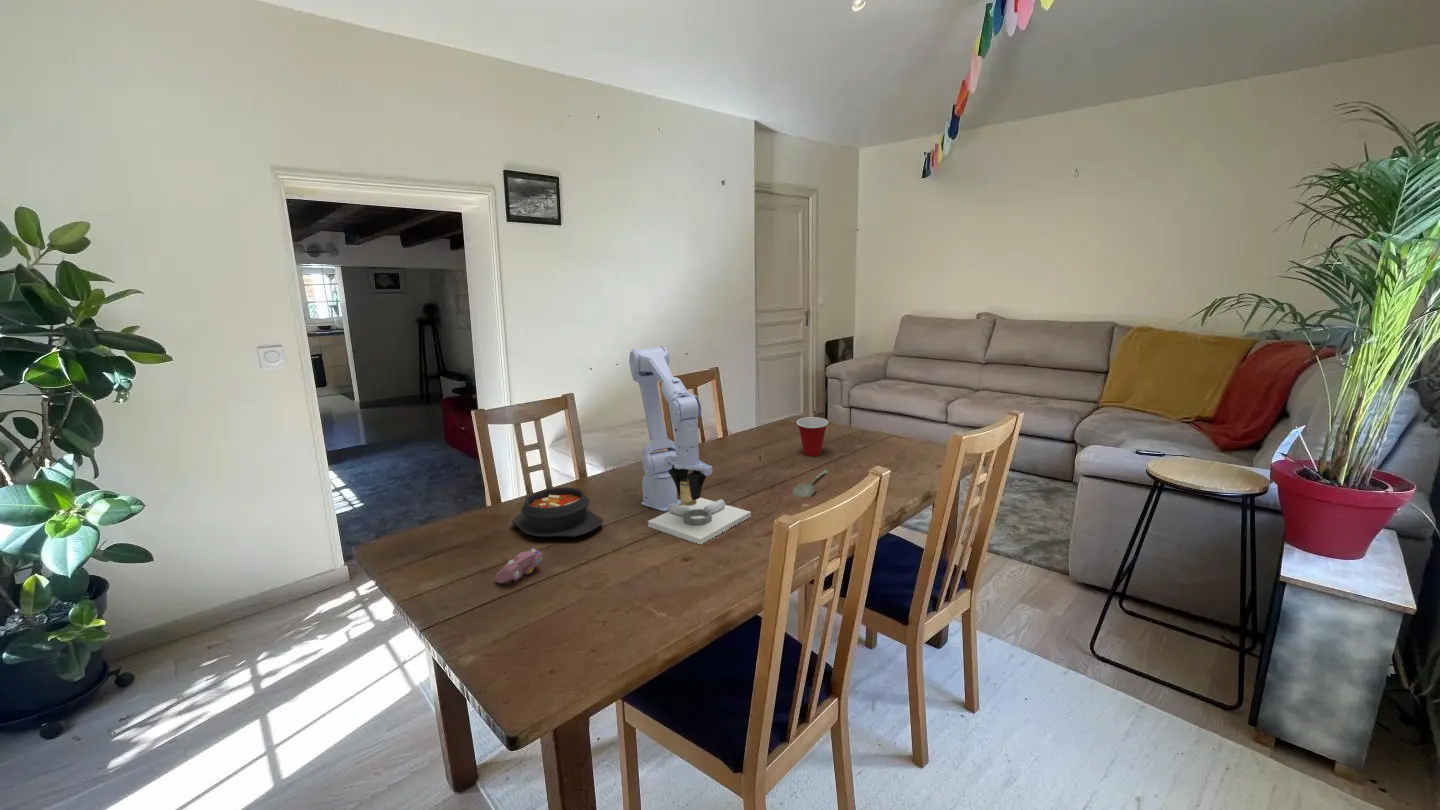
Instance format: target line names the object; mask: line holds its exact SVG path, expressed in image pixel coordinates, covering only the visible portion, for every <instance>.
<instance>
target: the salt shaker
mask: <svg viewBox="0 0 1440 810" xmlns="http://www.w3.org/2000/svg"><path fill="white" fill-rule="evenodd" d="M679 483H680V496H679V498H680V500H681V504H680V505H681V506H682V505H684V506H692V505H695V504H696V503H697V500H692V496H691V487H690V483H689V480H688V478H682V479H680V481H679Z"/></svg>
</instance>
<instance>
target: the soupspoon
mask: <svg viewBox="0 0 1440 810" xmlns="http://www.w3.org/2000/svg"><path fill="white" fill-rule="evenodd" d="M828 474H829V471H828V470H826V469H824V470H823V471H822V472H820V473H819V474H818V475H817V476H815V477H814V478H813V479H811V480H810V481H809V482H808V483H805V482H804V483H799V484H797V485H795V486H794V487H793V489H792V495H793V496H796V497H800V498H811V497H812V496H813V495H814V494H815V492H816V486H815V485H813V483H814V482H815V481H816V480H817V479H819V478H820V477H821V476H825V475H828Z"/></svg>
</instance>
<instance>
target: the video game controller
mask: <svg viewBox="0 0 1440 810" xmlns="http://www.w3.org/2000/svg"><path fill="white" fill-rule="evenodd" d="M543 559H544V554H543V553H542V552H541V551H540V550H537V549H535V548H532V549H531V550H526V551H522V552H519V553H518V554H516V555H515V556H514V557H513V558H512V559H510V560H508V562H507V563H505V565H504V566H503V567H502V568H501V569H500V570H499V571H498V572H497V573H496V574H495V581H496V582H497V583H498V584H504V583H506V582H508V581H510V580H513V581H514V582H517V581H518V579H519V580H520V579H521V578H522V577H523V573H524V574H525V575H526V576H528V575H529V574H531V573H532V572H533V571H534V570H535V568H536V567H537V566H538V565H539V564H541V562H542V561H543Z"/></svg>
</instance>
